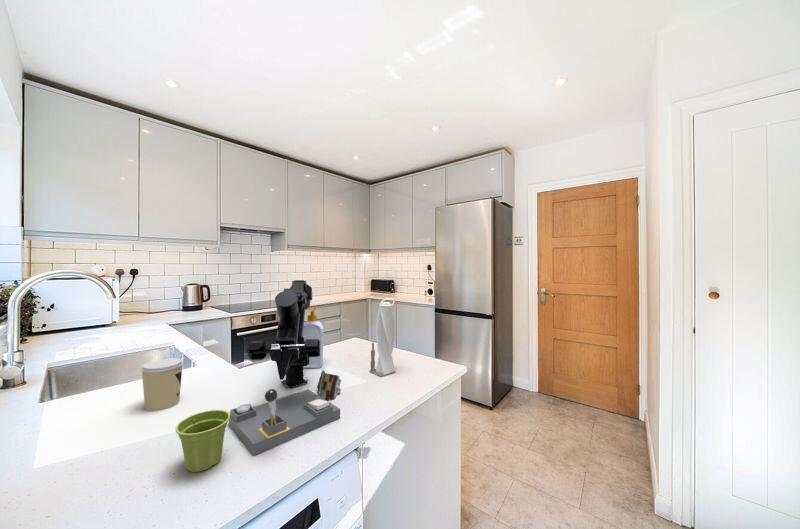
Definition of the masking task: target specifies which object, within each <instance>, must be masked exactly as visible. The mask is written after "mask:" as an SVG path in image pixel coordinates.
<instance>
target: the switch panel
mask: <svg viewBox="0 0 800 529" xmlns="http://www.w3.org/2000/svg"><path fill="white" fill-rule="evenodd" d="M317 394H318V393H315V392H313V391H312V390H310V389H309V388H307V389H305V390H302V391H299V392H298V391H297V392H296V393H292V394H289V395H286V396H283V397H280V398H276V399H275V403H276V413H277V423H278V424H275V425H272V426H271V421H270V412H269V403H268V401H266V402H265V403H261V404H258V405H256V406H252V404H251V403H248V405H250V412H247V413H244V414H241V415H237V413H236V412H237V407H235V408H232V409H230V410H229V411H230V412H229V414H230V419H229V421H228V422H227V426H229V427H230V429H231V430H232V431H233V432H234V434H235V435H236V436H237V437H238V439H239V440H240V442H242V444H243V445H244V446H245V447H246V449H247V450H248V451H249V452H250V454H251V455H252V456H256V455H258V454H261V453H264V452H265V451H268V450H270V449H273V448H275V447H277V446H280V445H281V444H284V443H285V442H286V443H287V442H289V441H292V440H293V439H296V438H297V437H300V436H303V435H305V434H307V433H309V432H311V431H313V430H316V429H318V428H321V427H323V426H325V425H327V424H331V423H332V422H334V421H337V420H339V419H341V408H340V407H338V406H336V405H335V404H333V403H331V402H330V401H329V400H325V399H323V398H322V397H320V396H319V395H317ZM317 399H320V400H324V401H327V402H329V406H327V407H324V408H322V409H319V410H316V409H313V408H311V407H310V406H308V403H309V402H312V401H314V400H317Z"/></svg>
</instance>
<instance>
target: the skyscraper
mask: <svg viewBox="0 0 800 529" xmlns="http://www.w3.org/2000/svg"><path fill="white" fill-rule="evenodd" d="M386 300H393V301H392V303H391V302H389V301H386ZM395 302H396V298H395V297H387V298H386V297H385V298H384V299H382V300H381V302H380V303H379V304H378V311H377V316H376V324H375V340H376V347H377V353H378V358H377V362H376V361H375V358H376V357H375V356H376V354H375V353H376V352H375V351H376V350H375V342H371V349H370V370H369V371H368V372H369V373H370V374H373V375H376V376H377V377H380V378H383V377H387V376H389V375H393V374H396V369H395V365H394V364H395V363H394V360H393V355H392V354H393V351H394V346H395V341H396V335H397V334H396V332H397V327H396V326H397V323H396V322H397V321H396V317H395V315H396V314H395V311H394V305H395ZM376 363H377V364H376Z"/></svg>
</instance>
